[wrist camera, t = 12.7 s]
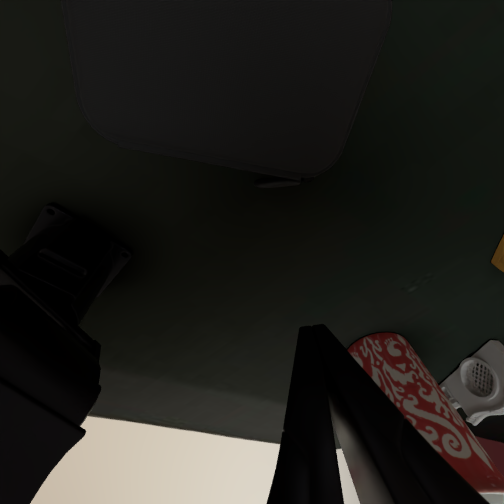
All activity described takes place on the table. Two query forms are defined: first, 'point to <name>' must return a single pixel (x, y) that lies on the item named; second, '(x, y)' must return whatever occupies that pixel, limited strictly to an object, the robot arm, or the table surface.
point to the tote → (499, 256)
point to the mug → (428, 409)
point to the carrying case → (227, 78)
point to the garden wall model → (465, 391)
